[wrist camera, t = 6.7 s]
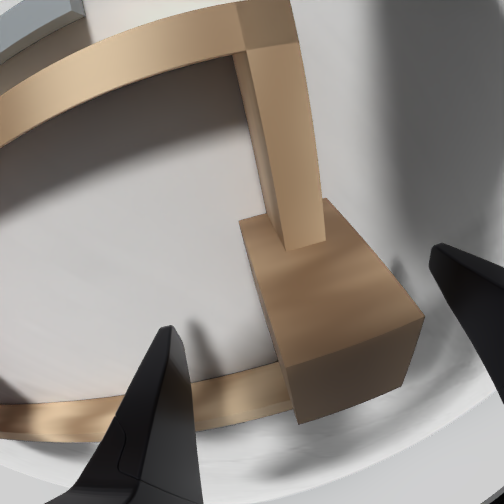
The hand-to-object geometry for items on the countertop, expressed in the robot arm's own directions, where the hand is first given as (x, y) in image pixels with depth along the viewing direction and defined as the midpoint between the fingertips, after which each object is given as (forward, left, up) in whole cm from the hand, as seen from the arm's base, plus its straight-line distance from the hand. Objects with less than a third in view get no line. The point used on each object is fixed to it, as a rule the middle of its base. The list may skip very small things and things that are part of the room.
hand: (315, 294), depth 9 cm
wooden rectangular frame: (+13, 0, -3) cm, 13 cm away
